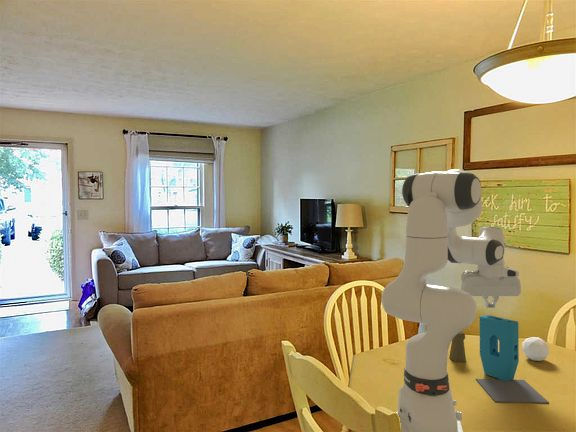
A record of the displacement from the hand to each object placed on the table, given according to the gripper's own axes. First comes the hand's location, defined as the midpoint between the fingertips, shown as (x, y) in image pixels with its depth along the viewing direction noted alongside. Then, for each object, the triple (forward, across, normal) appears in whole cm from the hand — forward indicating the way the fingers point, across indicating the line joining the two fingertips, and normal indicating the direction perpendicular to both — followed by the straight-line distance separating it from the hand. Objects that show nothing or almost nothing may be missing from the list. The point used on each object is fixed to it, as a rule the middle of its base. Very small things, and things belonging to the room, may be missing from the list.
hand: (490, 307), depth 148 cm
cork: (+23, -9, +7) cm, 25 cm away
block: (+22, 0, -8) cm, 24 cm away
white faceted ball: (+23, +21, +9) cm, 32 cm away
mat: (+22, -1, -19) cm, 29 cm away
